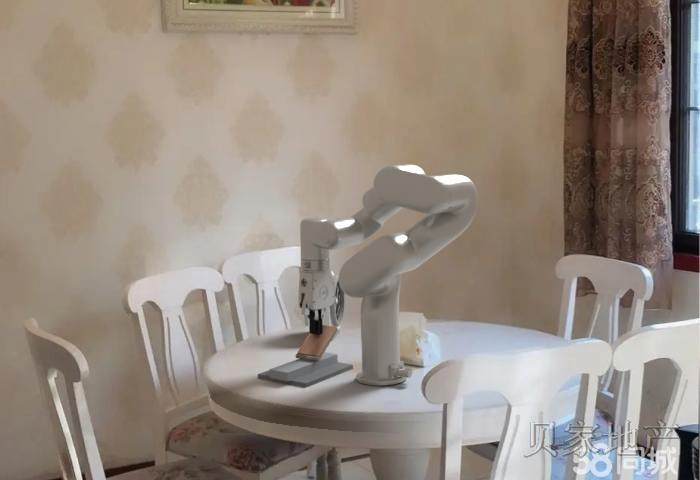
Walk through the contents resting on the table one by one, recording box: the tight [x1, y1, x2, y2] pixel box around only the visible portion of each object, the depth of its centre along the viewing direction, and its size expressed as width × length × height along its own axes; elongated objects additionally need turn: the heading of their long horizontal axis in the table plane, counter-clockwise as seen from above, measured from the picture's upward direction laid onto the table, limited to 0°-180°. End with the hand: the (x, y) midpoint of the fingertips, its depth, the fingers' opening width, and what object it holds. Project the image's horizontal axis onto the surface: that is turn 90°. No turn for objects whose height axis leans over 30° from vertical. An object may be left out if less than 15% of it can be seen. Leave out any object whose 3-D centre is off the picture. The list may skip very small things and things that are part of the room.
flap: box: [295, 325, 338, 361], centre depth 220 cm, size 7×11×1 cm
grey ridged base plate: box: [257, 351, 354, 388], centre depth 217 cm, size 16×20×3 cm
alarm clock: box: [322, 270, 346, 342], centre depth 256 cm, size 18×8×20 cm, turn 168°
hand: (315, 333), depth 221 cm, fingers closed
